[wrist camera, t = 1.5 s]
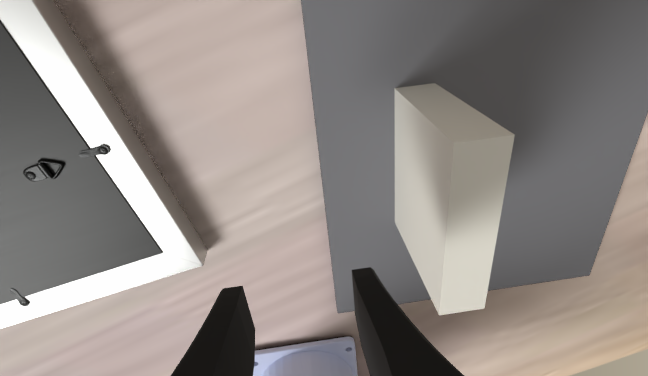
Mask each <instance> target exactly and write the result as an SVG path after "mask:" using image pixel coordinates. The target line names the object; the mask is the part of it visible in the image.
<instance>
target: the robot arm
mask: <svg viewBox="0 0 648 376" xmlns="http://www.w3.org/2000/svg"><path fill="white" fill-rule="evenodd" d="M352 282H353V294H354V306H355V316H356V321H357V326H358V331H359V337H360V342H361V346H362V349H363V353H364V356H365V359H366V363H367V366H368V369H369V373H370V376H464V375H463V374H462V373H461V372H460V371H458V370H457V369H456V368H455V367H454V366H453V365H452V364H451V363H450V362H449V361H448V360H447V359H446V358H445V357H444V356H443V355H442V354H441V353H440V352H439V351H438V350H437V349H436V348H435V347H434V346H433V345H432V344H431V343H430V342H429V341H428V340H427V339H426V338H425V337H424V335H423V334H422V333H421V332H420V331H419V330H418V329H417V328H416V327H415V325H414V324H413V323H412V322H411V321H410V320H409V318H408V317H407V316H406V315H405V313H404V312H403V311H402V310H401V308H400V307H399V306H398V305H397V303H396V302H395V301H394V299H393V298H392V297H391V295H390V294H389V292H388V291H387V290H386V288H385V287H384V285H383V284H382V282H381V281H380V279H379V278H378V276H377V274H376V273H375V271H374V269H372V268H371V267H368V268H361V269H354V270H352ZM171 376H358V373H357V362H356V350H355V342H354V338H352V337H341V338H334V339H328V340H321V341H315V342H308V343H302V344H295V345H289V346H282V347H276V348H269V349H263V350H256V351H255V328H254V324H253V321H252V317H251V314H250V310H249V307H248V303H247V300H246V297H245V293H244V290H243V286H238V287H231V288H224V289H223V290H222V291H221V292H220V294H219V296H218V298H217V300H216V302H215V303H214V305H213V307H212V309H211V311H210V313H209V315H208V316H207V318H206V320H205V322H204V324H203V325H202V327H201V329H200V330H199V332H198V334H197V335H196V337H195V339H194V340H193V342H192V344H191V345H190V347H189V349H188V350H187V352H186V354H185V355H184V357H183V358H182V360H181V361H180V363H179V364H178V366H177V367H176V369H175V370H174V372H173V373H172V375H171Z"/></svg>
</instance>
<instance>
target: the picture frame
mask: <svg viewBox="0 0 648 376" xmlns="http://www.w3.org/2000/svg"><path fill="white" fill-rule="evenodd" d="M206 254H207V248H206V247H205V245H204V243H203V242H202V240H201V239H200V237H199V235H198V234H197V232H196V230H195V229H194V227H193V226H192V224H191V222H190V221H189V219H188V218H187V216H186V214H185V213H184V211H183V209H182V208H181V206H180V205H179V203H178V201H177V200H176V198H175V197H174V195H173V193H172V192H171V190H170V188H169V187H168V185H167V184H166V182H165V180H164V179H163V177H162V175H161V174H160V172H159V171H158V169H157V167H156V166H155V164H154V163H153V161H152V159H151V158H150V156H149V154H148V153H147V151H146V150H145V148H144V146H143V145H142V143H141V141H140V140H139V138H138V137H137V135H136V133H135V132H134V130H133V129H132V127H131V125H130V124H129V122H128V120H127V119H126V117H125V116H124V114H123V112H122V111H121V109H120V107H119V106H118V104H117V103H116V101H115V99H114V98H113V96H112V95H111V93H110V91H109V90H108V88H107V86H106V85H105V83H104V82H103V80H102V78H101V77H100V75H99V73H98V72H97V70H96V69H95V67H94V65H93V64H92V62H91V61H90V59H89V57H88V56H87V54H86V52H85V51H84V49H83V48H82V46H81V44H80V43H79V41H78V39H77V38H76V36H75V35H74V33H73V31H72V30H71V28H70V27H69V25H68V23H67V22H66V20H65V18H64V17H63V15H62V14H61V12H60V10H59V9H58V7H57V6H56V4H55V2H54V1H53V0H0V329H2V328H5V327H8V326H11V325H14V324H18V323H21V322H24V321H27V320H30V319H34V318H37V317H40V316H43V315H46V314H50V313H53V312H56V311H59V310H62V309H66V308H69V307H72V306H75V305H78V304H81V303H85V302H88V301H91V300H94V299H97V298H101V297H104V296H107V295H110V294H113V293H117V292H120V291H123V290H126V289H129V288H133V287H136V286H139V285H142V284H145V283H149V282H152V281H155V280H158V279H161V278H165V277H168V276H171V275H174V274H177V273H181V272H184V271H187V270H190V269H193V268H197V267H200V266H203V265H204V261H205V258H206Z"/></svg>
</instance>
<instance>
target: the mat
mask: <svg viewBox="0 0 648 376" xmlns="http://www.w3.org/2000/svg"><path fill="white" fill-rule="evenodd" d="M301 4H302V13H303V21H304V30H305V38H306V47H307V56H308V64H309V73H310V81H311V90H312V99H313V107H314V116H315V125H316V133H317V142H318V150H319V159H320V168H321V176H322V185H323V193H324V202H325V211H326V219H327V228H328V236H329V245H330V254H331V262H332V271H333V279H334V288H335V297H336V305H337V311H338V313H344V312H350V311H355V306H354V294H353V282H352V270H354V269H361V268H368V267H371V268H372V269H374V271H375V273H376V274H377V276H378V278H379V279H380V281H381V282H382V284H383V285H384V287H385V288H386V290H387V291H388V292H389V294H390V295H391V297H392V298H393V299H394V301H395V302H396V303H397V304H403V303H410V302H416V301H423V300H430V299H431V297H430V295H429V293H428V291H427V289H426V287H425V285H424V283H423V281H422V279H421V276H420V274H419V272H418V270H417V268H416V266H415V264H414V262H413V260H412V258H411V255H410V253H409V251H408V249H407V247H406V245H405V243H404V241H403V239H402V236H401V234H400V232H399V230H398V228H397V226H396V224H395V88H400V87H408V86H416V85H424V84H432V83H435V84H437V85H438V86H440V87H442V88H443V89H445V90H446V91H448V92H449V93H451V94H452V95H454V96H456V97H457V98H459V99H460V100H462V101H463V102H465V103H466V104H468V105H469V106H471V107H473V108H474V109H476V110H477V111H479V112H480V113H482V114H483V115H485V116H487V117H488V118H490V119H491V120H493V121H494V122H496V123H497V124H499V125H501V126H502V127H504V128H505V129H507V130H508V131H510V132H511V133H513V134H514V135H515V136H514V142H513V148H512V154H511V159H510V165H509V171H508V177H507V182H506V188H505V194H504V199H503V205H502V211H501V217H500V222H499V228H498V234H497V240H496V245H495V251H494V257H493V263H492V268H491V274H490V280H489V285H488V291H489V290H496V289H502V288H509V287H516V286H522V285H529V284H536V283H542V282H549V281H555V280H562V279H569V278H575V277H582V276H588V275H590V272H591V269H592V266H593V264H594V261H595V258H596V255H597V253H598V250H599V247H600V244H601V241H602V239H603V236H604V233H605V230H606V227H607V225H608V222H609V219H610V216H611V213H612V211H613V208H614V205H615V202H616V199H617V197H618V194H619V191H620V188H621V185H622V183H623V180H624V177H625V174H626V171H627V169H628V166H629V163H630V160H631V158H632V155H633V152H634V149H635V146H636V144H637V141H638V138H639V135H640V132H641V130H642V127H643V124H644V121H645V118H646V116H647V113H648V0H301Z"/></svg>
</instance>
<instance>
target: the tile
mask: <svg viewBox="0 0 648 376" xmlns="http://www.w3.org/2000/svg"><path fill="white" fill-rule="evenodd" d="M514 136H515V135H514V134H513V133H511V132H510V131H508V130H507V129H505V128H504V127H502V126H501V125H499V124H497V123H496V122H494V121H493V120H491V119H490V118H488V117H487V116H485V115H483V114H482V113H480V112H479V111H477V110H476V109H474V108H473V107H471V106H469V105H468V104H466V103H465V102H463V101H462V100H460V99H459V98H457V97H456V96H454V95H452V94H451V93H449V92H448V91H446V90H445V89H443V88H442V87H440V86H438V85H437V84H435V83H432V84H424V85H416V86H408V87H400V88H395V224H396V226H397V228H398V230H399V232H400V234H401V236H402V239H403V241H404V243H405V245H406V247H407V249H408V251H409V253H410V255H411V258H412V260H413V262H414V264H415V266H416V268H417V270H418V272H419V274H420V276H421V279H422V281H423V283H424V285H425V287H426V289H427V291H428V293H429V295H430V297H431V300H432V302H433V304H434V306H435V308H436V310H437V312H438V314H439V315H446V314H452V313H459V312H465V311H472V310H478V309H484V308H485V303H486V297H487V291H488V285H489V280H490V274H491V268H492V263H493V257H494V251H495V245H496V240H497V234H498V228H499V222H500V217H501V211H502V205H503V199H504V194H505V188H506V182H507V177H508V171H509V165H510V159H511V154H512V148H513V142H514Z"/></svg>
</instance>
